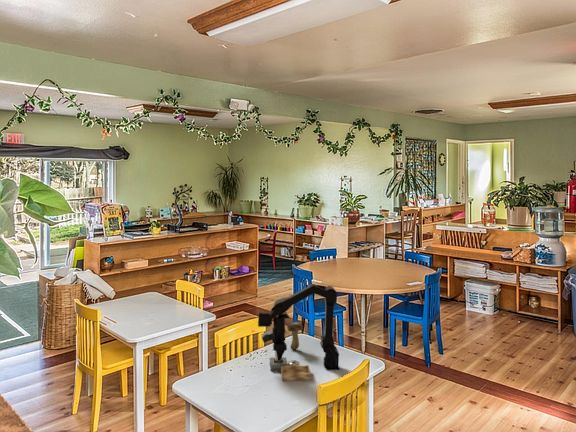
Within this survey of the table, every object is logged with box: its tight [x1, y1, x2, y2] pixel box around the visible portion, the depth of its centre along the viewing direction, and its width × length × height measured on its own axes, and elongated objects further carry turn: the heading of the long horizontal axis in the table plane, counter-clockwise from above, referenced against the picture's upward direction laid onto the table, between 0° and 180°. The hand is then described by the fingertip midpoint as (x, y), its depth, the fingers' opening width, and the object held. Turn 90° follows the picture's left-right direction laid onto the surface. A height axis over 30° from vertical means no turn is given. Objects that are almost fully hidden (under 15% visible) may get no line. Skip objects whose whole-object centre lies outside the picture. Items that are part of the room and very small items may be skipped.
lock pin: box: [274, 351, 283, 363], centre depth 215 cm, size 4×4×10 cm
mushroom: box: [286, 322, 304, 351], centre depth 236 cm, size 9×9×15 cm
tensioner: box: [269, 357, 300, 372], centre depth 215 cm, size 14×8×3 cm, turn 95°
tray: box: [280, 364, 312, 382], centre depth 206 cm, size 13×9×3 cm
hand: (278, 357), depth 215 cm, fingers open, 6 cm apart
